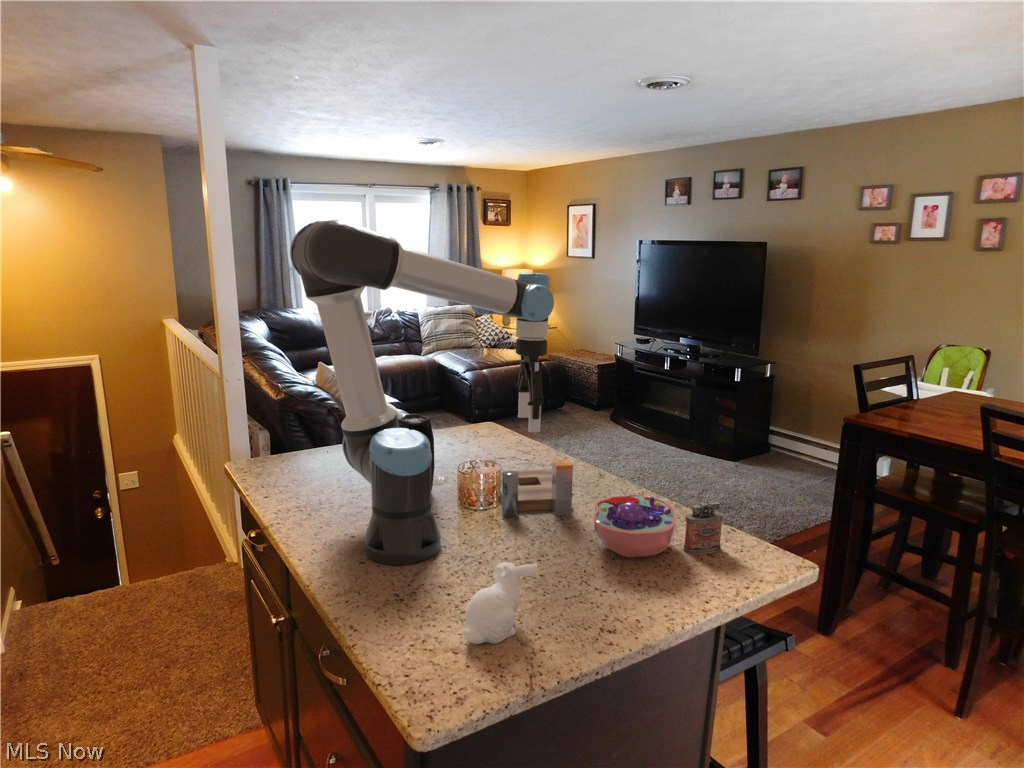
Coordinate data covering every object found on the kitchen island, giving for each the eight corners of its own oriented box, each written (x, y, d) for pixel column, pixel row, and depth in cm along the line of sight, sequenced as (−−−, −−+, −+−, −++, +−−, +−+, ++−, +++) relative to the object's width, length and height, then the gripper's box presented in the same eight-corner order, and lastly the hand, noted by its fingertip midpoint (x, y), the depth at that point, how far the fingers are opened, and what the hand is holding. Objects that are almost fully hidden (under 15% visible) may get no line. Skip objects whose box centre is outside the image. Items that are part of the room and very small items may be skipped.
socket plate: (571, 507, 146) (571, 497, 146) (504, 511, 144) (504, 501, 143) (551, 478, 166) (552, 469, 165) (492, 480, 163) (492, 471, 163)
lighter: (688, 555, 124) (692, 508, 122) (679, 548, 127) (683, 502, 125) (724, 551, 126) (728, 504, 124) (714, 543, 129) (718, 498, 127)
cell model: (687, 540, 131) (691, 490, 128) (658, 582, 114) (662, 524, 111) (612, 522, 139) (614, 474, 137) (573, 558, 122) (576, 504, 120)
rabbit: (497, 606, 105) (498, 540, 103) (543, 626, 100) (546, 557, 97) (449, 641, 96) (449, 569, 93) (498, 665, 90) (499, 590, 88)
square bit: (571, 515, 143) (573, 465, 140) (554, 515, 142) (556, 465, 139) (566, 508, 146) (568, 459, 144) (551, 509, 146) (552, 460, 143)
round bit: (519, 517, 141) (519, 475, 139) (503, 518, 140) (503, 476, 138) (516, 511, 144) (516, 470, 142) (500, 512, 143) (501, 470, 141)
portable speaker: (441, 495, 153) (440, 418, 149) (408, 504, 147) (407, 424, 143) (421, 485, 159) (420, 411, 155) (389, 493, 153) (387, 417, 149)
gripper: (559, 345, 137) (555, 438, 142) (536, 332, 161) (533, 411, 166) (526, 345, 136) (522, 438, 140) (507, 331, 160) (505, 412, 164)
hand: (528, 424), depth 153 cm, fingers open, 13 cm apart
